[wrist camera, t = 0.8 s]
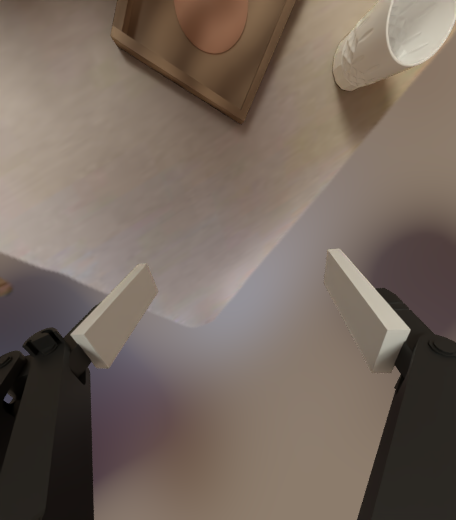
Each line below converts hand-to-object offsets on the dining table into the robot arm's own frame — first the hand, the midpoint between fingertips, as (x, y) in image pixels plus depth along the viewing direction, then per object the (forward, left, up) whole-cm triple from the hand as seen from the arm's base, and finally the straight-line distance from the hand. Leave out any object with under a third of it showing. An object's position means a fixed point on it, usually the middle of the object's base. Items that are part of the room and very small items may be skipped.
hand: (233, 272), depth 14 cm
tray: (-20, +15, -23) cm, 34 cm away
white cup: (-5, +30, -23) cm, 38 cm away
